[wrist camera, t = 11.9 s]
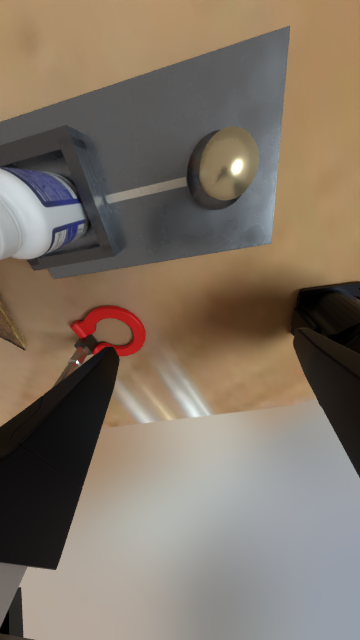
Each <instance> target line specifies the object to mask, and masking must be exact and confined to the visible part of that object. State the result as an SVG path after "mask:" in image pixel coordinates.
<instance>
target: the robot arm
mask: <svg viewBox="0 0 360 640" xmlns="http://www.w3.org/2000/svg"><path fill="white" fill-rule="evenodd" d="M359 287H360V282H355V283H346V284H338V285H330V286H322V287H314V288H306V289H302V290H300V291H299V293H298V298H297V303H296V307H295V308H294V311H293V317H292V322H291V326H292V329H291V333H292V335H293V336H294V340H293V346H294V349H295V351H296V354H297V357H298V359H299V362H300V364H301V367H302V369H303V372H304V374H305V376H306V378H307V380H308V382H309V384H310V386H311V388H312V390H313V392H314V394H315V395H316V398H317V400H318V402H319V404H320V406H321V407H322V408H323V410H324V412H325V414H326V416H327V418H328V419H329V421H330V423H331V425H332V427H333V429H334V431H335V432H336V434H337V436H338V438H339V440H340V442H341V443H342V445H343V447H344V449H345V451H346V453H347V455H348V456H349V459H350V461H351V462H352V464H353V466H354V468H355V470H356V472H357V474H358V475H359V477H360V288H359ZM305 292H306V293H305ZM303 293H305V294H304V295H303ZM119 360H120V359H119V356H118V354H117V352H116V350H115V348H114V347H113V346H107V347H104V348H103V349H102V350H100V351H99V352H98V353H97V354H95V355H94V356H93V357H91V358H90V359H89V360H88V361H86V362H85V363H84V364H82V365H81V366H80V367H79V368H77V369H76V370H75V371H74V372H72V373H71V374H70V375H68V376H67V377H66V378H65V379H63V380H62V381H61V382H59V383H58V384H57V385H56V386H54V387H53V388H52V389H50V390H49V391H48V392H47V393H45V394H44V396H41V397H40V398H39V399H38V400H36V401H35V402H34V403H32V404H31V405H30V406H28V407H27V408H26V409H25V410H23V411H22V412H20V413H19V414H18V415H16V416H15V417H13V418H12V419H11V420H9V421H8V422H7V423H5V424H4V425H2V426H1V427H0V640H33V639H27V638H23V619H22V597H21V587H19V584H20V582H21V580H22V577H23V575H24V573H25V571H26V569H27V567H35V568H44V569H52V570H56V568H57V566H58V563H59V560H60V558H61V554H62V551H63V548H64V545H65V542H66V539H67V535H68V532H69V529H70V526H71V523H72V520H73V516H74V513H75V510H76V507H77V504H78V501H79V497H80V494H81V491H82V486H83V484H84V481H85V478H86V475H87V472H88V468H89V465H90V462H91V459H92V456H93V453H94V449H95V446H96V443H97V440H98V437H99V434H100V430H101V427H102V424H103V421H104V418H105V415H106V411H107V408H108V405H109V402H110V399H111V396H112V392H113V389H114V385H115V381H116V376H117V371H118V366H119Z"/></svg>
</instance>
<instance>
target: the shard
mask: <svg viewBox="0 0 360 640" xmlns="http://www.w3.org/2000/svg"><path fill="white" fill-rule="evenodd" d="M0 338H3V339H4V340H6V341H9V342H11V343H13V344H14V345H16V346H18V347H20V348H22V349H23V350H26V345H28V342H27V341H26V339H25V338H24V336H23V335H22V333H21V332H20V331H19V329H18V328H17V326H16V324H15V323H14V322H13V320H12V318H11V317H10V316H9V313H8V312H7V310H6V308H5V306H4V304H3V303H2V301H1V299H0Z"/></svg>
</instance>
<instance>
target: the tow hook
mask: <svg viewBox="0 0 360 640" xmlns="http://www.w3.org/2000/svg"><path fill="white" fill-rule="evenodd" d="M105 318H114V319H118V320H121V321H123V322H125V323H126V324H127V325H128V326H130V328H131V329H132V331H133V333H134V340H133V341H132V342H131V343H130V344H128V345H125V346H113V345H110V344H108V343H105V342H104V343H100V344H98V342H97V340H96V339H95V338H94V337H93V335H92V334H93V333H94V332H95V330H96V323H97V322H99V321H100V320H102V319H105ZM70 327H71V329H72V330H73V331H74V332H75V333H76V334H77V336H78V337H79V340H78V341H77V342H76V344H75V345H74V346H75V348H76V349H77V350H76V351H75V353H74V354H73V356H72V357H71V359H70V360H69V361H68V365H67V367H66V368H65V369H64V371H63V372H62V374H61V375H60V377H59V378H58V380H57V381H56V383H55V384H54V386H56V385H57V384H58V383H59V382H61V381H62V380H63V379H65V378H66V377H67V376H68V375H70V374H71V373H72V372H74V371H75V370H76V369H77V368H79V367H80V366H81V364H82V363H83V361H84V359H85V358H86V356H87V355H90V354H94V355H95V354H97V353H98V352H99V351H100V350H102V349H103V348H104V347H107V346H113V347H114V348H115V350H116V352H117V354H118V356H128V355H131V354H134V353H136V352H137V351H139V350H140V348H141V347H142V346H143V344H144V341H145V329H144V326H143V324H142V323H141V321H140V320H139V319H138V318H137V317H136V316H135V315H134V314H133V313H131V312H129V311H128V310H126V309H123V308H120V307H116V306H101V307H98V308H96V309H94V310H92V311H91V312H90V313H89V314H88V315H87V316H86V318H85V320H84V321H79V320H77V321H75V322H73V323H72V324H71V325H70ZM54 386H53V387H54ZM53 387H52V388H53Z"/></svg>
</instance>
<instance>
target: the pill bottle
mask: <svg viewBox="0 0 360 640" xmlns="http://www.w3.org/2000/svg"><path fill="white" fill-rule="evenodd" d="M88 224H89V217H88V215H87V213H86V210H85V208H84V205H83V203H82V200H81V198H80V195H79V193H78V190H77V188H76V187H75V186H74V185H73V184H72V183H71V182H70V181H69V180H67V179H66V178H64V177H62V176H60V175H58V174H55V173H52V172H44V171H34V170H24V169H14V168H5V167H0V260H2V259H5V258H9V257H13V258H17V259H32V258H36V257H39V256H42V255H44V254H46V253H48V252H51V251H53V250H55V249H57V248H60V247H62V246H64V245H66V244H69V243H71V242H73V241H75V240H77V239H79V238H80V237H82V236H83V235H84V234H85V232H86V230H87V228H88Z"/></svg>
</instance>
